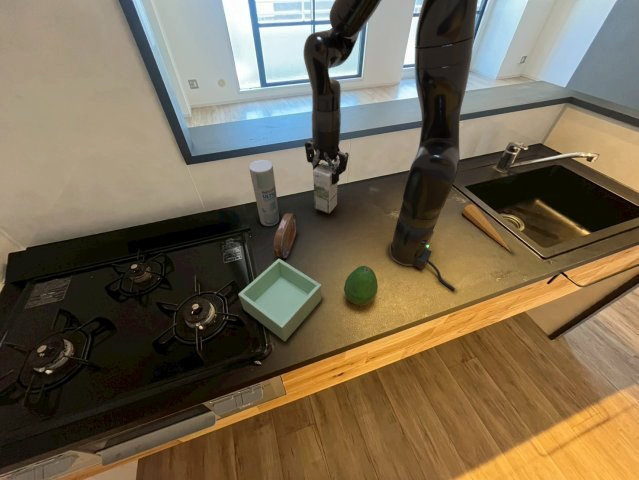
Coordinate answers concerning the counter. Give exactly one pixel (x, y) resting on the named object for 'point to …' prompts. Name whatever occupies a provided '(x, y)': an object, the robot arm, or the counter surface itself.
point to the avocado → (361, 286)
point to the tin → (285, 235)
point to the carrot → (482, 223)
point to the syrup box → (324, 188)
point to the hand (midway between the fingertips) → (325, 179)
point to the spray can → (265, 191)
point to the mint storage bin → (281, 298)
